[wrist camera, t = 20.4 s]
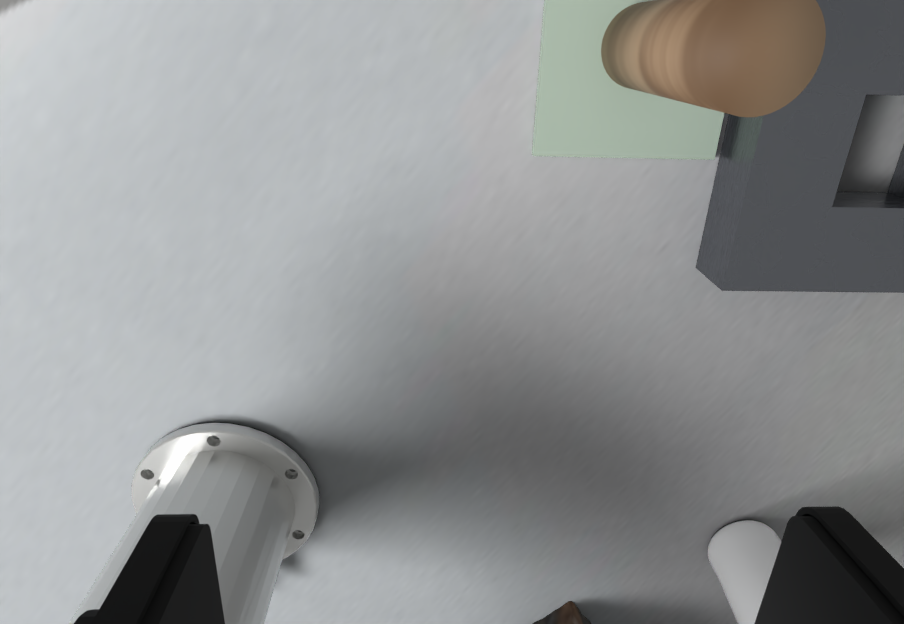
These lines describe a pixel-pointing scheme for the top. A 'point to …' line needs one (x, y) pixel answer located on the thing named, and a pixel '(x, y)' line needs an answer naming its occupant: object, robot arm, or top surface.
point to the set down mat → (606, 97)
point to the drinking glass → (744, 565)
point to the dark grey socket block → (812, 174)
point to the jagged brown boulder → (565, 616)
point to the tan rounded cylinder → (717, 51)
